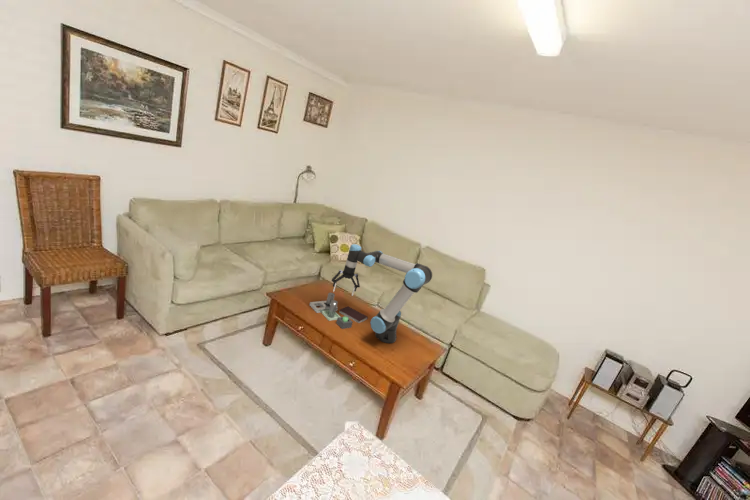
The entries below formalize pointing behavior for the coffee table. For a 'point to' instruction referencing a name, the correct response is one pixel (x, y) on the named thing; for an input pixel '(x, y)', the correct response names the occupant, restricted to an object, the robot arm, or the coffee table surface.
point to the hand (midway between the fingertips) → (343, 293)
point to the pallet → (321, 304)
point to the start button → (345, 319)
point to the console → (344, 323)
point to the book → (353, 314)
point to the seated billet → (329, 299)
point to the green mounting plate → (329, 317)
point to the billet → (332, 308)
